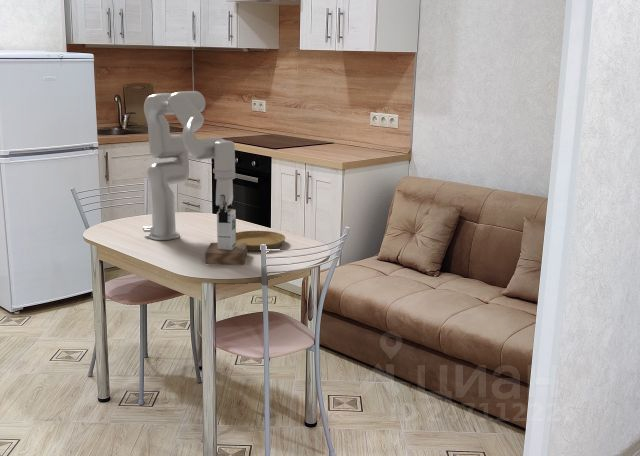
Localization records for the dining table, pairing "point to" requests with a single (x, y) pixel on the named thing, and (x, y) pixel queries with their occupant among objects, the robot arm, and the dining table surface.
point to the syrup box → (227, 231)
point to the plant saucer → (259, 239)
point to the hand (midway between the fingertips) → (225, 219)
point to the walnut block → (226, 255)
